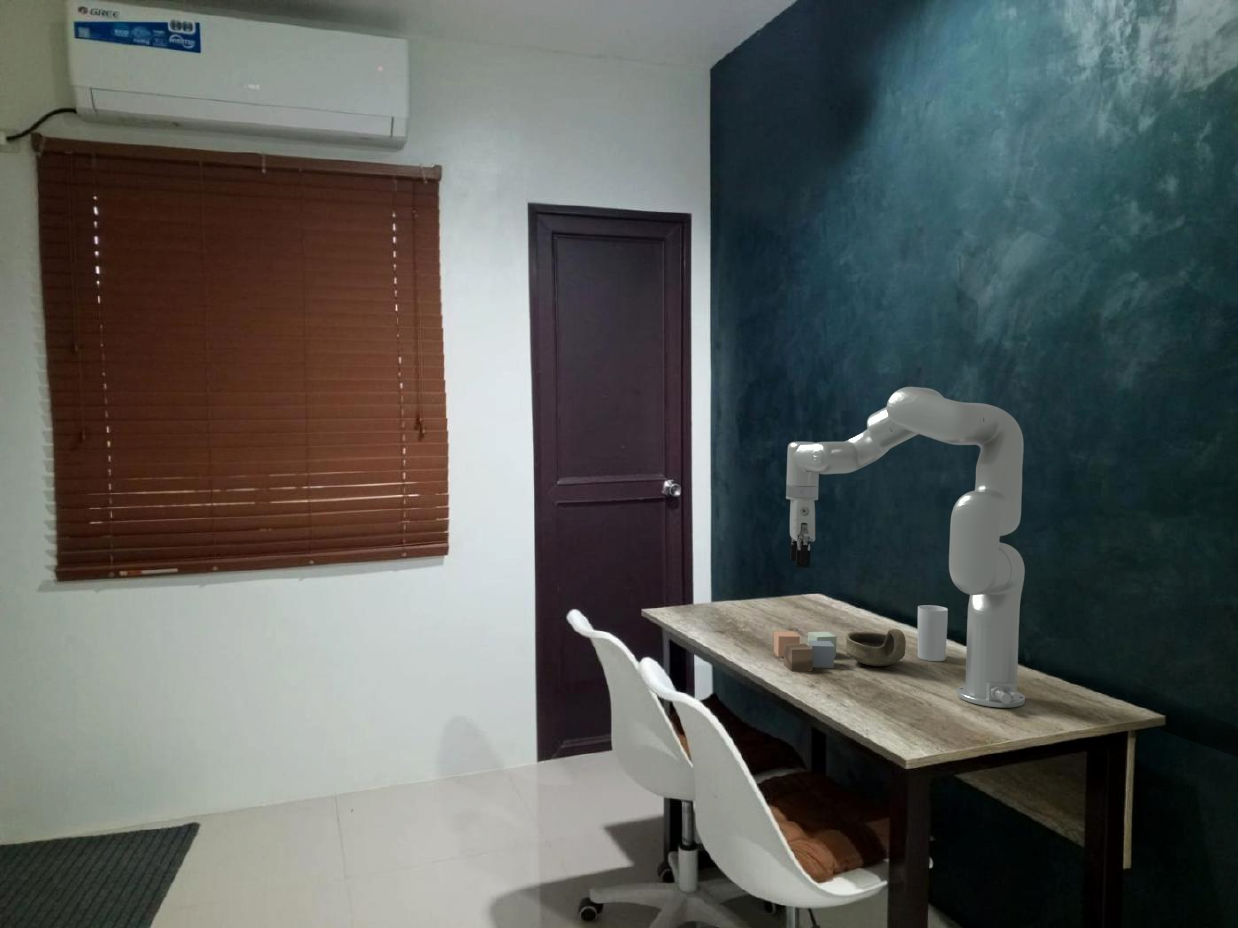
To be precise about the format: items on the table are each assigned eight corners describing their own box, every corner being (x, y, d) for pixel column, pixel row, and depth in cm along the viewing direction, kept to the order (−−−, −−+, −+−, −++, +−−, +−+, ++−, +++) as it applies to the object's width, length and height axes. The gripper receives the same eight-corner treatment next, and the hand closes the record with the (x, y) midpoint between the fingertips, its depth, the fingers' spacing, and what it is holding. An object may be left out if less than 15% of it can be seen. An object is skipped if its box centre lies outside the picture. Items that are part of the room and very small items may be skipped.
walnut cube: (812, 670, 194) (813, 648, 193) (791, 671, 193) (791, 649, 193) (804, 664, 199) (804, 643, 198) (783, 665, 198) (784, 643, 198)
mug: (951, 661, 203) (953, 610, 203) (924, 662, 202) (926, 611, 202) (931, 650, 213) (932, 602, 213) (905, 651, 212) (906, 602, 212)
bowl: (883, 654, 208) (885, 613, 208) (927, 675, 191) (928, 630, 191) (832, 657, 205) (833, 616, 205) (872, 678, 188) (873, 633, 188)
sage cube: (836, 656, 206) (836, 636, 206) (816, 657, 205) (817, 637, 205) (826, 651, 211) (826, 631, 211) (807, 652, 210) (807, 632, 210)
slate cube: (833, 668, 196) (834, 646, 196) (811, 667, 197) (812, 645, 196) (829, 662, 201) (830, 640, 201) (808, 661, 202) (808, 640, 201)
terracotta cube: (799, 657, 205) (799, 636, 205) (778, 657, 205) (778, 636, 205) (794, 651, 210) (794, 631, 210) (774, 651, 210) (774, 631, 210)
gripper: (824, 496, 199) (821, 570, 199) (812, 490, 216) (810, 558, 217) (791, 495, 199) (788, 569, 200) (781, 489, 216) (779, 557, 217)
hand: (799, 563), depth 208 cm, fingers open, 9 cm apart
